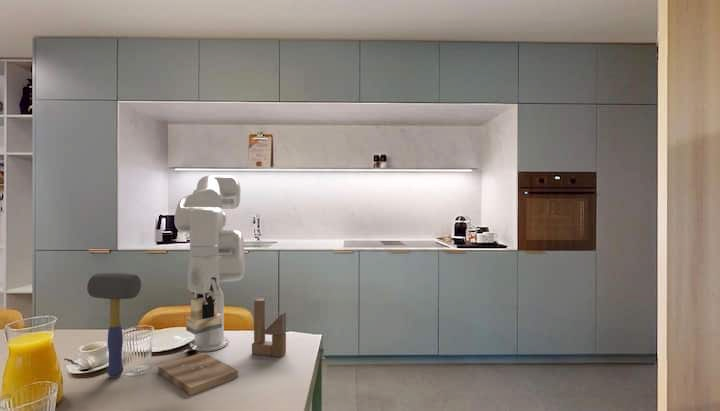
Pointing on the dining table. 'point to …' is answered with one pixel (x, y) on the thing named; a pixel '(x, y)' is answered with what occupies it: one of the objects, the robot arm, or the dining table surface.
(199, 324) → the block
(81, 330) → the dining table surface
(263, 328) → the wooden block
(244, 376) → the dining table surface
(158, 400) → the dining table surface
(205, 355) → the walnut board
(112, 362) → the rubber mallet
